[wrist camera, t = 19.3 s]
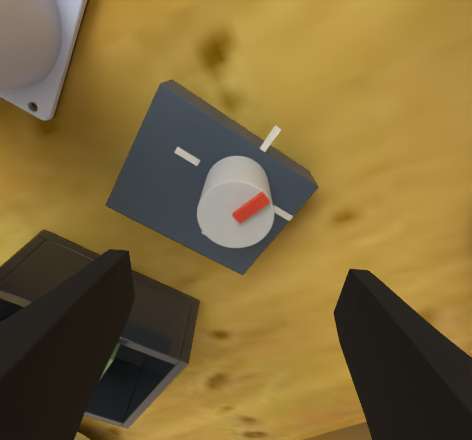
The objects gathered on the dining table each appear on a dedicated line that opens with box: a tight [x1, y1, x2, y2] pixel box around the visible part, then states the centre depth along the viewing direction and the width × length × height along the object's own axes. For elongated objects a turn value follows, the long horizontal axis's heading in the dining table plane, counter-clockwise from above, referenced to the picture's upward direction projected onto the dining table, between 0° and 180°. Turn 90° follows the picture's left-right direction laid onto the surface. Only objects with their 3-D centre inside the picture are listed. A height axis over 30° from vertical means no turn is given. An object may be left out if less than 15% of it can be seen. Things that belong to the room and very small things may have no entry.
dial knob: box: [197, 156, 274, 248], centre depth 14 cm, size 4×4×4 cm
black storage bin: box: [0, 230, 199, 429], centre depth 23 cm, size 13×11×6 cm
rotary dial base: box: [106, 80, 318, 275], centre depth 17 cm, size 10×9×3 cm
